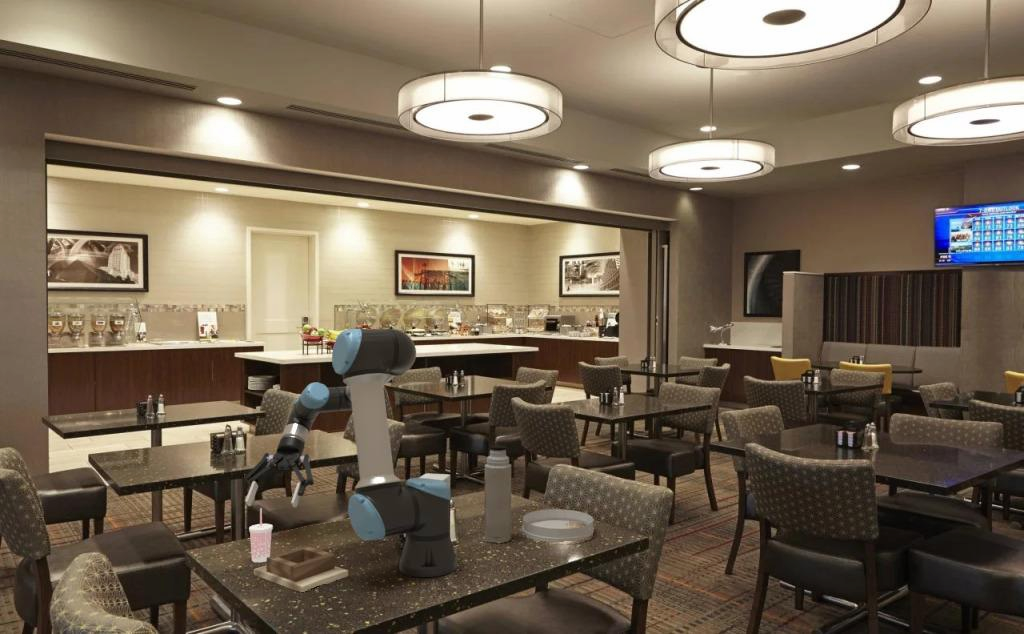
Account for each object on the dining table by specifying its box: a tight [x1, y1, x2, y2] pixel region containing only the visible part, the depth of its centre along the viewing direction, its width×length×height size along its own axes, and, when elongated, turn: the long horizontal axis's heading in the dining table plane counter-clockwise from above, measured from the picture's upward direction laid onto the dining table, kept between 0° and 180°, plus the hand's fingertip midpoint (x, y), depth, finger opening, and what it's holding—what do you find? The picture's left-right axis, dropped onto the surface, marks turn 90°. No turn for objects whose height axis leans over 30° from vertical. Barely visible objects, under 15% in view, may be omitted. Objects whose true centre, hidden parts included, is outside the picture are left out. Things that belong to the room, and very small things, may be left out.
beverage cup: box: [248, 507, 274, 563], centre depth 193 cm, size 6×6×14 cm
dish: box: [521, 508, 595, 542], centre depth 217 cm, size 22×22×5 cm
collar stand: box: [253, 545, 349, 593], centre depth 181 cm, size 20×14×5 cm
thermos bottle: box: [484, 444, 512, 543], centre depth 211 cm, size 8×8×28 cm
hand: (270, 504), depth 200 cm, fingers open, 13 cm apart
